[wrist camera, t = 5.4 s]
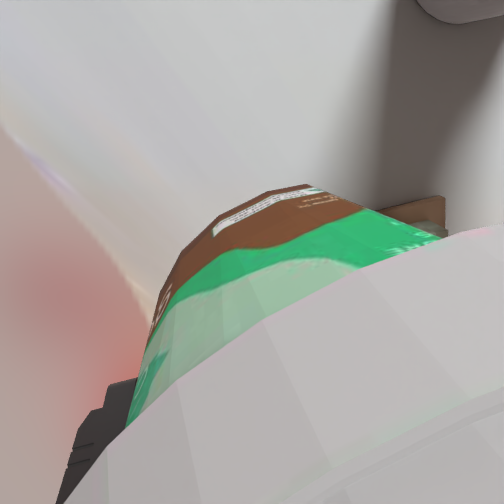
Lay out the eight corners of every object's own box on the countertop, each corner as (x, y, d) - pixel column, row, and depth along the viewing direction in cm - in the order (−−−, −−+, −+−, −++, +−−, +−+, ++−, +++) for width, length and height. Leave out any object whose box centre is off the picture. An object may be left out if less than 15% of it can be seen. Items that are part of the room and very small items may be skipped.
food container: (70, 150, 10) (-885, 700, 1) (305, 129, 11) (942, 338, 2) (150, 488, 15) (105, 1118, 6) (310, 456, 16) (492, 968, 7)
